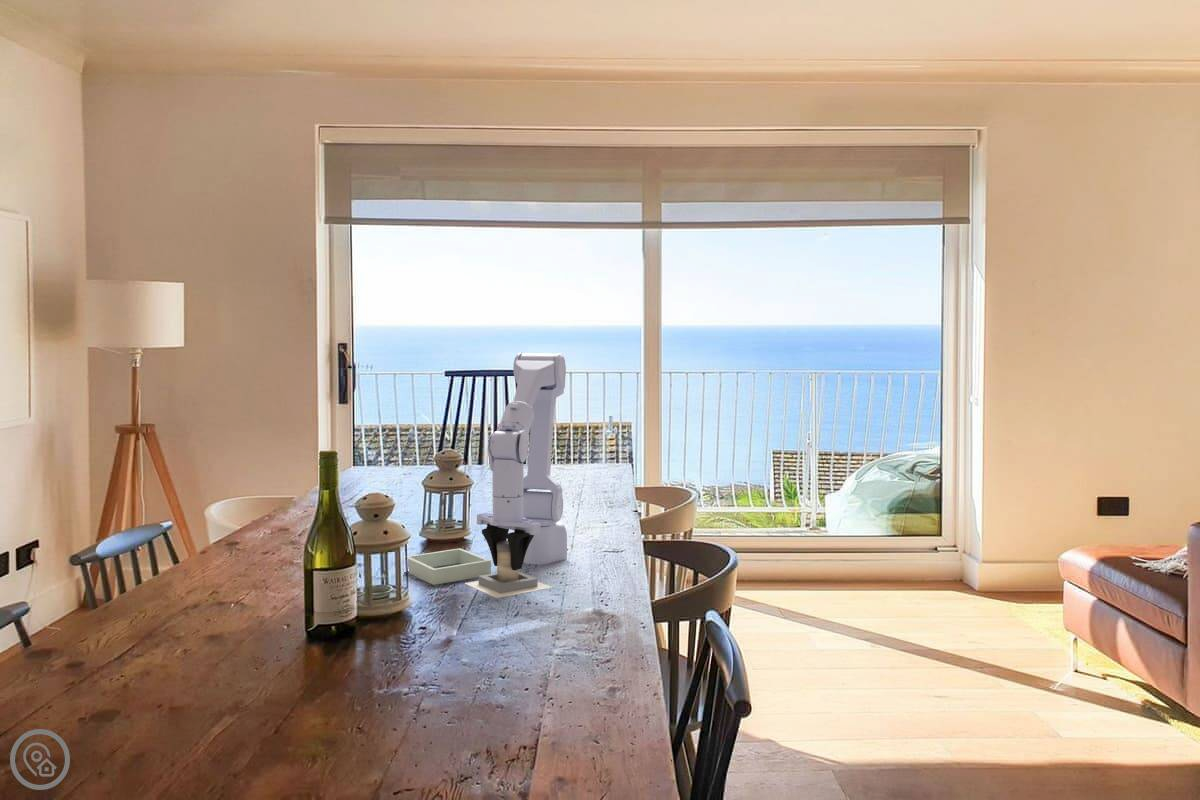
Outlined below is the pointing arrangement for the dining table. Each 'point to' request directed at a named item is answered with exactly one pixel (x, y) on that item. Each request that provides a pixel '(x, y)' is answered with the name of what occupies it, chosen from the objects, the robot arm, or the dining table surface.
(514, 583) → the square socket plate
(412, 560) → the bin
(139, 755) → the dining table surface
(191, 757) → the dining table surface
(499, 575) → the strut
